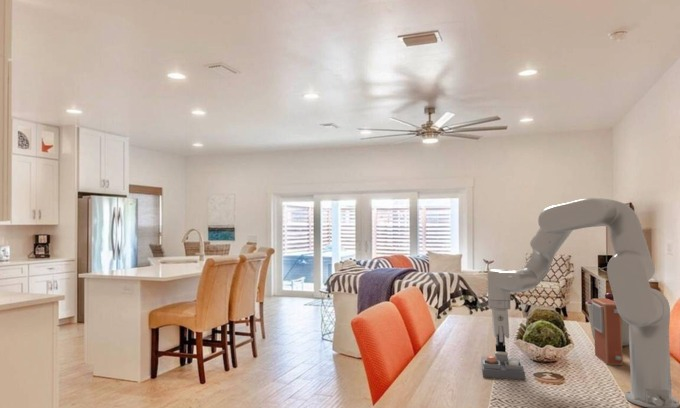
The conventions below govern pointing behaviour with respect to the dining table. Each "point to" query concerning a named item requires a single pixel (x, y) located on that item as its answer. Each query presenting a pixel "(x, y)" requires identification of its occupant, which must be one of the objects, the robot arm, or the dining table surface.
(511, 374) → the switch board
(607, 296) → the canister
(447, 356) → the dining table surface
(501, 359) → the paddle
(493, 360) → the terracotta button
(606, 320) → the control panel
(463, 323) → the dining table surface
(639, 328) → the robot arm
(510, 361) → the white button
